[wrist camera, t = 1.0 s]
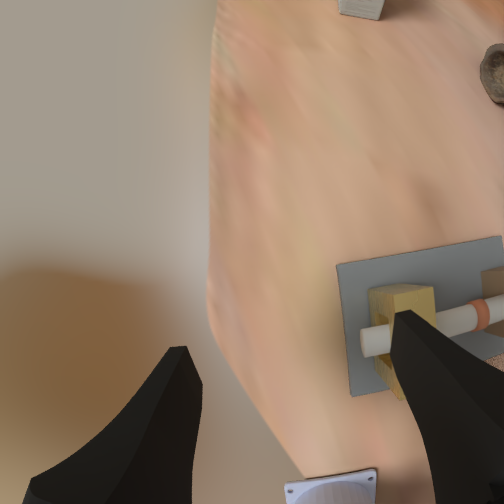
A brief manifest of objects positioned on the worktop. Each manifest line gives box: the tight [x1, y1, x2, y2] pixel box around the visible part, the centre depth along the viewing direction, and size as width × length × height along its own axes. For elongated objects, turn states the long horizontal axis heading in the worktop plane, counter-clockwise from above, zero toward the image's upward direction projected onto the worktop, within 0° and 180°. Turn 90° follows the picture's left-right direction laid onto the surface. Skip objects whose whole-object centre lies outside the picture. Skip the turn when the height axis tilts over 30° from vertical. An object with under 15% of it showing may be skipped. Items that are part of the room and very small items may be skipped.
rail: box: [336, 236, 504, 397], centre depth 19 cm, size 15×10×5 cm, turn 98°
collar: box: [367, 283, 437, 400], centre depth 18 cm, size 2×6×6 cm, turn 8°
